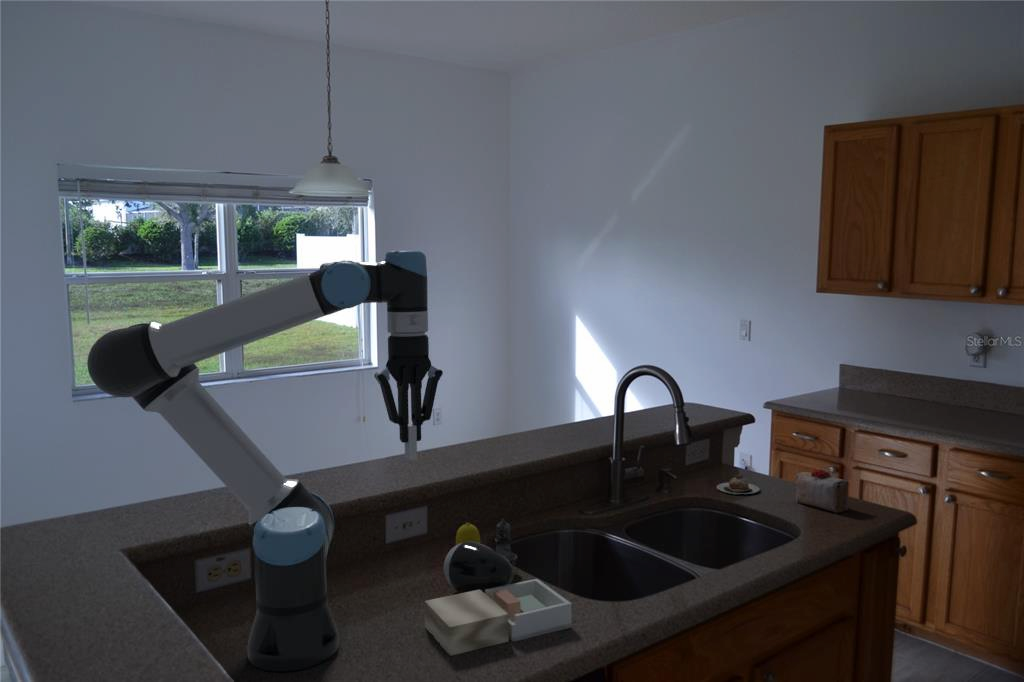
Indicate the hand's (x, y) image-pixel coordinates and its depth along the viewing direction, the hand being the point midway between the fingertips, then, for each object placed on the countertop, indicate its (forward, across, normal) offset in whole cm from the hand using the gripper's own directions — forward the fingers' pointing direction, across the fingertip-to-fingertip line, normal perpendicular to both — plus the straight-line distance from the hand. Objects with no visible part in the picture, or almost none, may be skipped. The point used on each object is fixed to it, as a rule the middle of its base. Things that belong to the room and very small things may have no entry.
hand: (411, 458), depth 149 cm
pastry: (+30, +111, +32) cm, 119 cm away
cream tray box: (+29, +4, -14) cm, 33 cm away
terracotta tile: (+26, +12, -14) cm, 32 cm away
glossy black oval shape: (+25, +11, +6) cm, 28 cm away
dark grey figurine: (+30, +23, +8) cm, 38 cm away
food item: (+30, +120, +10) cm, 124 cm away
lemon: (+30, +20, +20) cm, 41 cm away
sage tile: (+26, +17, -15) cm, 34 cm away
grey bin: (+29, +16, -14) cm, 37 cm away
